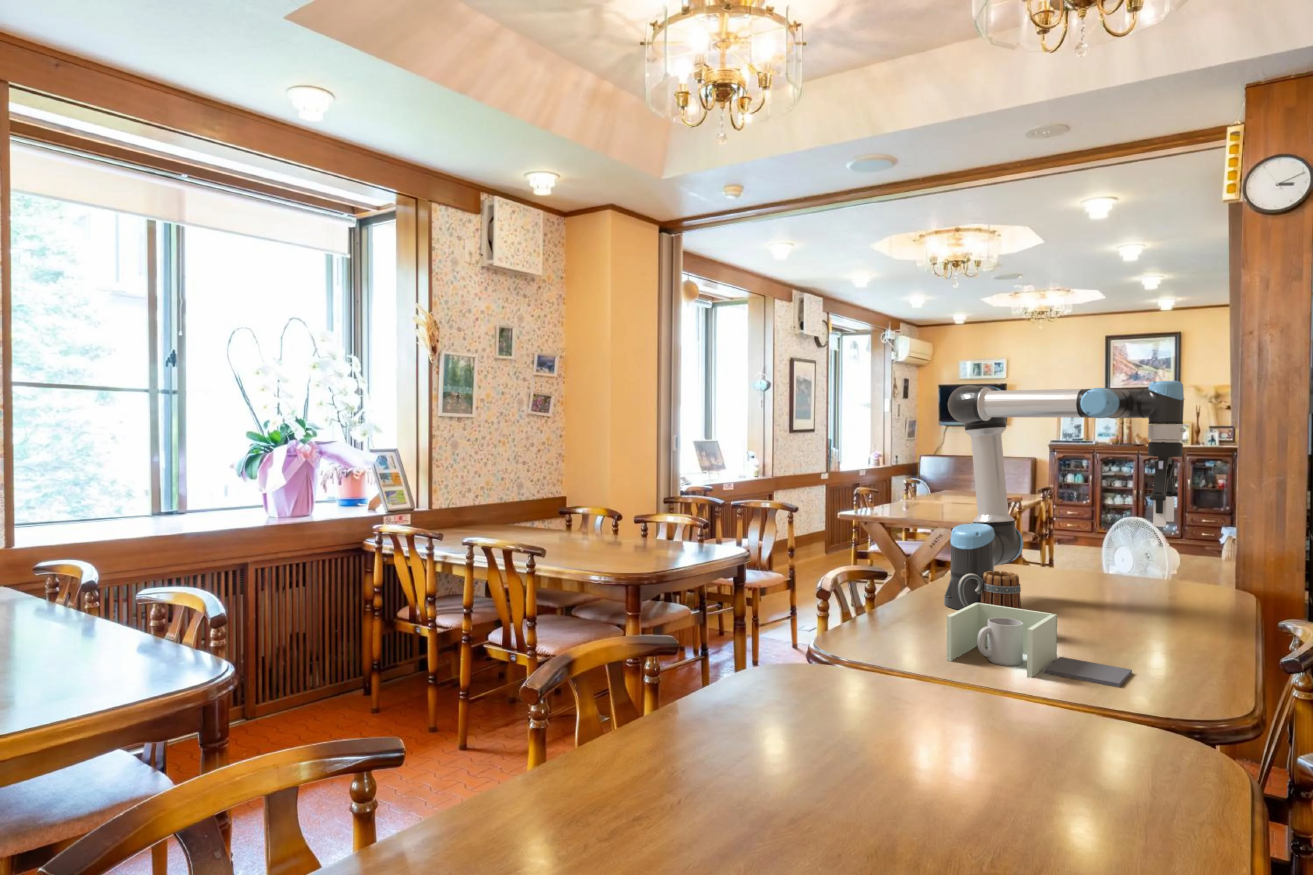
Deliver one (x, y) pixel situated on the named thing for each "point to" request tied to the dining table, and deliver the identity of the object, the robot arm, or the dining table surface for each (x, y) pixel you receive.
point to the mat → (1088, 671)
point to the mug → (995, 589)
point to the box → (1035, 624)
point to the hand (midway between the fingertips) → (1163, 523)
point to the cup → (1002, 641)
